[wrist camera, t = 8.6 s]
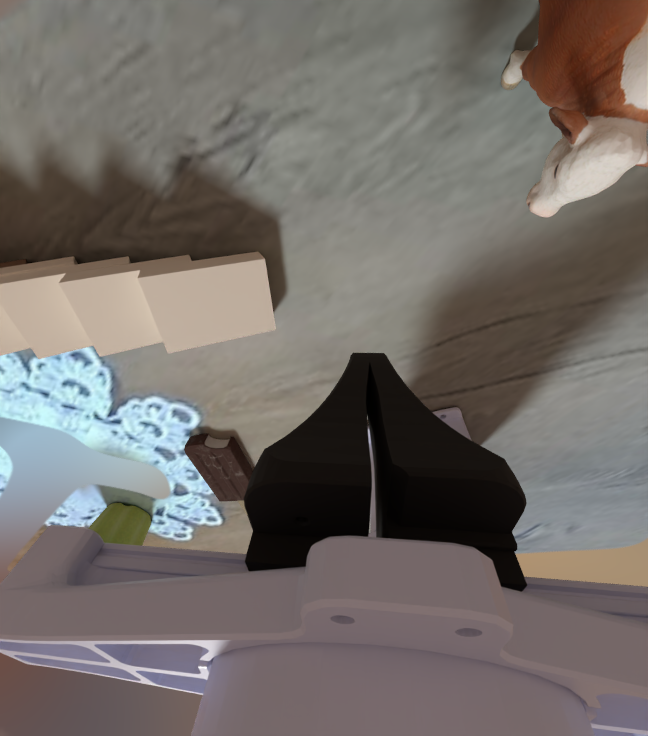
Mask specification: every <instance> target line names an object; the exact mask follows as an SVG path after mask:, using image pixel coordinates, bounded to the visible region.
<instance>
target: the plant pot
mask: <svg viewBox="0 0 648 736" xmlns="http://www.w3.org/2000/svg"><path fill="white" fill-rule="evenodd" d="M150 525H151V517H150V515H149V514H148V513H147V512H145V511H143V510H142V509H140V508H139V507H136V506H125V505H123V504H122V503H113V504H110V505H109V506H107V508H106V509H105V510H104V511H103V512H102V513H101V514H100V516H99V517H98V518H97V519H96V520H95V521H94V522H93V523H92V525H91V526H90V527H89V529H91V530H93V531H95V532H96V533H98V534H99V535H100V536H101V538H102V539H103V542H104V543H114V544H127V545H139V546H142V545H143V542H144V540H145V537H146V535H147V533H148V530H149V528H150Z"/></svg>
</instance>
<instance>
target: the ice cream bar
mask: <svg viewBox="0 0 648 736" xmlns="http://www.w3.org/2000/svg"><path fill="white" fill-rule="evenodd" d="M184 450H185V453H186V455H187V456H188V457H189V459H190V460H191V462H192V463H193V464H194V466H195V467H196V469H197V470H198V471H199V473H200V474H201V476H202V477H203V478H204V480H205V481H206V483H207V484H208V485H209V487H210V488H211V490H212V491H213V492H214V494H215V495H216V497H217V498H218V499H219V501H238V502H239V504H240V505H241V507H242V508H243V510H244V511H245V513H246V514H247V512H246V509H245V506H244V496H245V493H246V490H247V487H248V484H249V480H250V477H251V475H252V472H253V470H252V469H251V467H250V465H249V463H248V461H247V460H246V458H245V456H244V454H243V452H242V451H241V449H240V447H239V445H238V443H237V442H236V440H235V438H234V437H231V438H230V439H227V440H218V439H215V438H212V437H210V436H209V434H199V435H194V436H192V437H190V438H189V440H188V442H187V443H186V445H185V449H184ZM247 516H248V515H247Z"/></svg>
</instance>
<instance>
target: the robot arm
mask: <svg viewBox="0 0 648 736" xmlns="http://www.w3.org/2000/svg"><path fill="white" fill-rule="evenodd" d="M367 415H368V423H369V426H367ZM441 415H444V416H441ZM244 506H245V509H246V512H247V515H248V518H249V521H250V523H251V526H252V529H253V533H252V537H251V541H250V544H249V548H248V551H247V554H238V553H225V552H213V551H201V550H188V549H176V548H164V547H151V546H139V545H127V544H114V543H104V542H103V539H102V538H101V536H100V535H99V534H98V533H96V532H95V531H93V530H91V529H89V528H84V527H74V526H61V525H51V526H48V528H47V529H46V530H45V531H44V532H43V534H42V535H41V536H40V537H39V538H38V539H37V541H36V542H35V543H34V544H33V545H32V547H31V548H30V549H29V550H28V551H27V553H26V554H25V555H24V556H23V557H22V559H21V560H20V561H19V562H18V563H17V565H16V566H15V567H14V568H13V569H12V570H11V572H10V573H9V574H8V575H7V576H6V578H5V579H4V580H3V581H2V582H1V584H0V652H1V653H3V654H5V655H8V656H10V657H12V658H14V659H17V660H19V661H21V662H24V663H26V664H31V665H38V666H46V667H53V668H60V669H66V670H72V671H78V672H85V673H90V674H96V675H101V676H107V677H112V678H118V679H123V680H128V681H133V682H138V683H144V684H149V685H154V686H160V687H165V688H170V689H175V690H181V691H185V692H191V693H196V694H201V695H203V696H202V700H201V703H200V707H199V710H198V714H197V717H196V720H195V724H194V727H193V731H192V734H191V736H648V587H643V586H631V585H619V584H607V583H595V582H581V581H569V580H558V579H545V578H533V577H524V575H523V573H522V570H521V568H520V565H519V562H518V560H517V557H516V555H515V552H514V551H516V550H517V543H516V541H515V539H514V536H513V534H512V530H513V529H514V527H515V525H516V524H517V522H518V520H519V519H520V517H521V515H522V513H523V512H524V509H525V506H526V498H525V494H524V492H523V490H522V488H521V486H520V484H519V482H518V480H517V479H516V477H515V475H514V473H513V472H512V470H511V469H510V467H509V466H508V464H507V463H506V461H505V459H504V458H502V457H500V456H498V455H496V454H494V453H492V452H491V451H489V450H487V449H485V448H483V447H481V446H480V445H478V444H476V443H474V442H473V441H472V440H471V438H470V435H469V433H468V430H467V428H466V425H465V423H464V420H463V417H462V413H461V410H460V409H459V408H457V407H453V408H448V409H444V410H439V411H435V412H431V411H430V410H429V409H428V408H427V407H426V406H425V405H424V404H423V403H422V402H421V401H420V400H419V399H418V398H417V397H416V396H415V395H414V394H413V393H412V392H411V390H410V389H409V388H408V387H407V386H406V384H405V383H404V382H403V380H402V379H401V378H400V376H399V375H398V374H397V372H396V371H395V369H394V368H393V366H392V365H391V363H390V361H389V360H388V358H387V356H386V355H385V354H384V353H353V354H352V355H351V357H350V360H349V363H348V365H347V367H346V369H345V371H344V373H343V375H342V377H341V378H340V380H339V382H338V383H337V385H336V386H335V388H334V389H333V390H332V392H331V393H330V395H329V396H328V397H327V398H326V400H325V401H324V402H323V403H322V404H321V405H320V407H319V408H318V409H317V410H316V411H315V412H314V413H313V414H312V415H311V416H310V417H309V418H308V419H307V420H305V421H304V422H303V423H302V424H301V425H299V426H298V427H297V428H296V429H294V430H293V431H292V432H291V433H289V434H288V435H287V436H285V437H284V438H282V439H281V440H279V441H277V442H276V443H274V444H273V445H271V446H269V447H268V448H266V449H265V450H264V451H263V453H262V455H261V456H260V458H259V460H258V462H257V464H256V466H255V468H254V470H253V472H252V475H251V477H250V480H249V484H248V487H247V490H246V493H245V496H244ZM369 521H370V524H371V533H369Z"/></svg>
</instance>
